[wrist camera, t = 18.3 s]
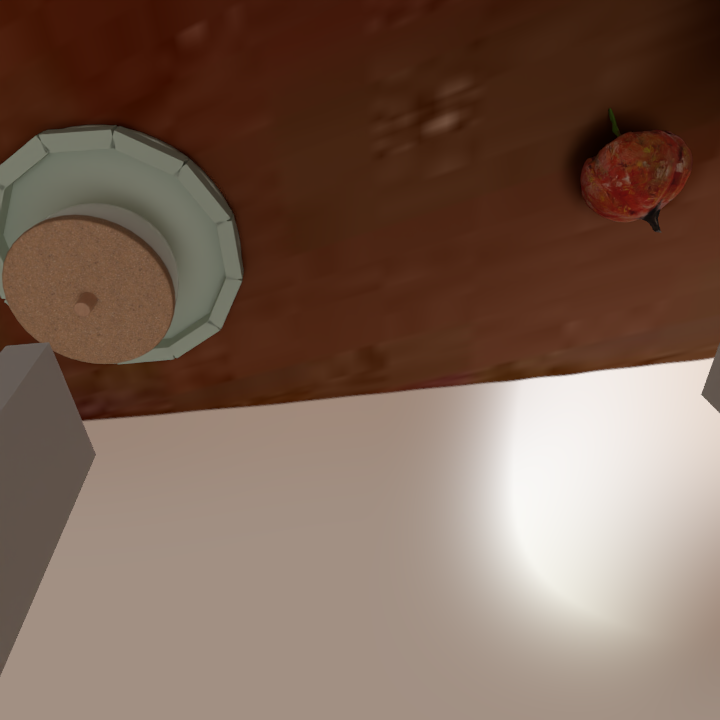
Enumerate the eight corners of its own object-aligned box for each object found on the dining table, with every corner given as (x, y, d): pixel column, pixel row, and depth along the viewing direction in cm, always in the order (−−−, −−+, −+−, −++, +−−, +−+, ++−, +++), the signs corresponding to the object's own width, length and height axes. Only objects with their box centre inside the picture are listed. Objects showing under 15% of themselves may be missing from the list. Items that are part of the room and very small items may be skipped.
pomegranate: (547, 139, 45) (578, 258, 45) (591, 87, 38) (629, 228, 37) (632, 122, 46) (664, 239, 45) (691, 69, 39) (730, 207, 38)
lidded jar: (52, 304, 46) (2, 369, 38) (38, 171, 40) (-25, 215, 32) (188, 321, 48) (168, 385, 40) (193, 196, 42) (170, 243, 34)
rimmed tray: (218, 115, 40) (214, 122, 38) (257, 336, 50) (255, 351, 48) (-49, 133, 39) (-69, 141, 37) (45, 355, 49) (34, 371, 47)
